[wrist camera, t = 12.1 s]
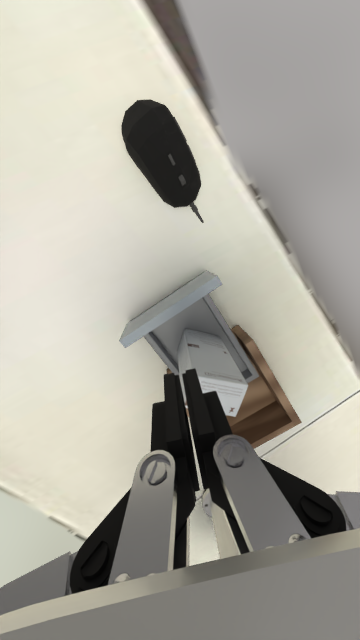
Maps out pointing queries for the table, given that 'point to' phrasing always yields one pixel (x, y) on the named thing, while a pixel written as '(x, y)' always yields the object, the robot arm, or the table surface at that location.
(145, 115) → the gaming mouse
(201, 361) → the skincare box
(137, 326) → the tray
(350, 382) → the table surface
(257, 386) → the housing
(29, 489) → the table surface
